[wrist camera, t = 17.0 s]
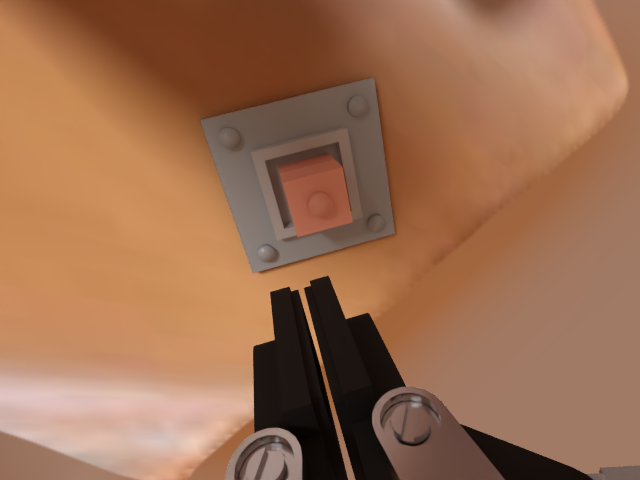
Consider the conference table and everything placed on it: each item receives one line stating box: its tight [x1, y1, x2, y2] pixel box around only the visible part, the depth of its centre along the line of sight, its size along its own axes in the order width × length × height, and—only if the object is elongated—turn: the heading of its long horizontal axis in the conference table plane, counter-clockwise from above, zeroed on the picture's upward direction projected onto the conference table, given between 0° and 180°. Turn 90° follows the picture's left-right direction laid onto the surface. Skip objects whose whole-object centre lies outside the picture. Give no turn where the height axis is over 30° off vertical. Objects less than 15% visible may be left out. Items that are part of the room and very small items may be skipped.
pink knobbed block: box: [278, 153, 353, 237], centre depth 33 cm, size 5×5×7 cm
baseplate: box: [200, 78, 395, 273], centre depth 36 cm, size 16×16×2 cm
